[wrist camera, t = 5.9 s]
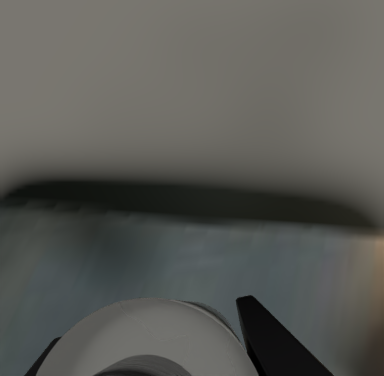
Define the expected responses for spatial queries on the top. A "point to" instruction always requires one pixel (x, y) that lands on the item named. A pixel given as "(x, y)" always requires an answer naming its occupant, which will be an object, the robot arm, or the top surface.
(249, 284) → the top surface
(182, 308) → the grey cylindrical bottle
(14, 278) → the top surface
